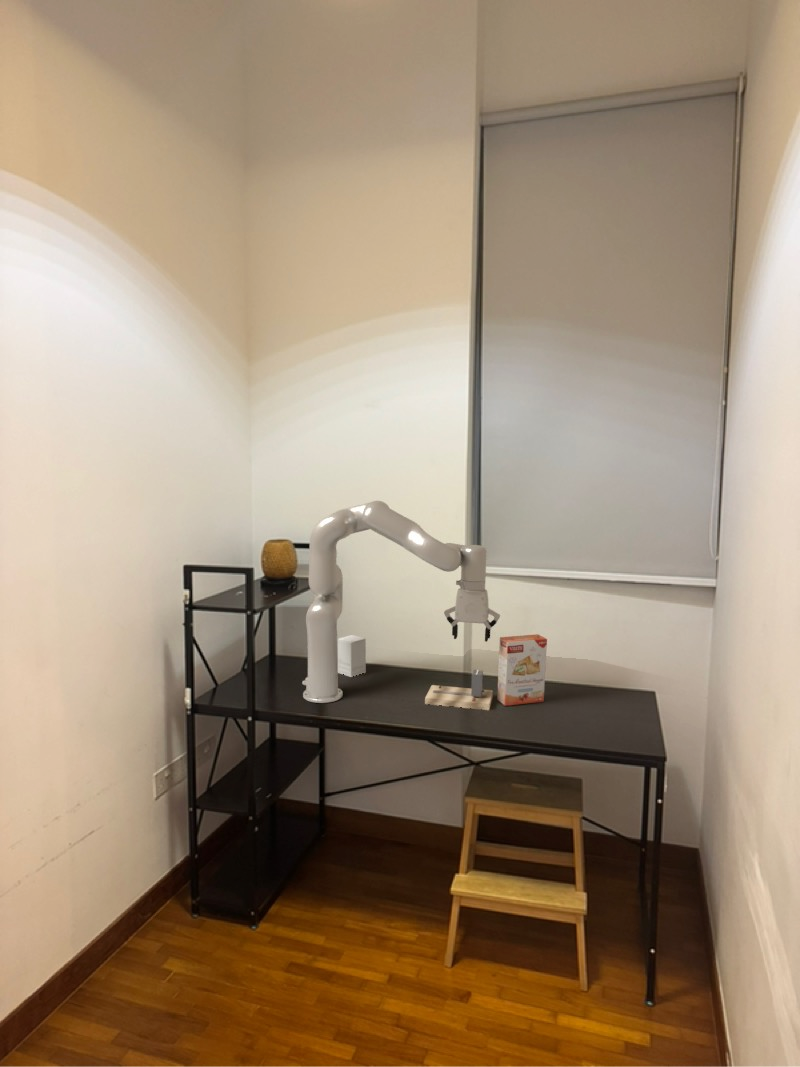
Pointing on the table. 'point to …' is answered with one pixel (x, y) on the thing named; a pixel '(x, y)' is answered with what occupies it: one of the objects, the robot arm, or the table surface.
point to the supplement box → (351, 655)
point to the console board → (458, 697)
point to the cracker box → (521, 669)
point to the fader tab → (477, 683)
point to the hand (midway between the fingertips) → (470, 639)
